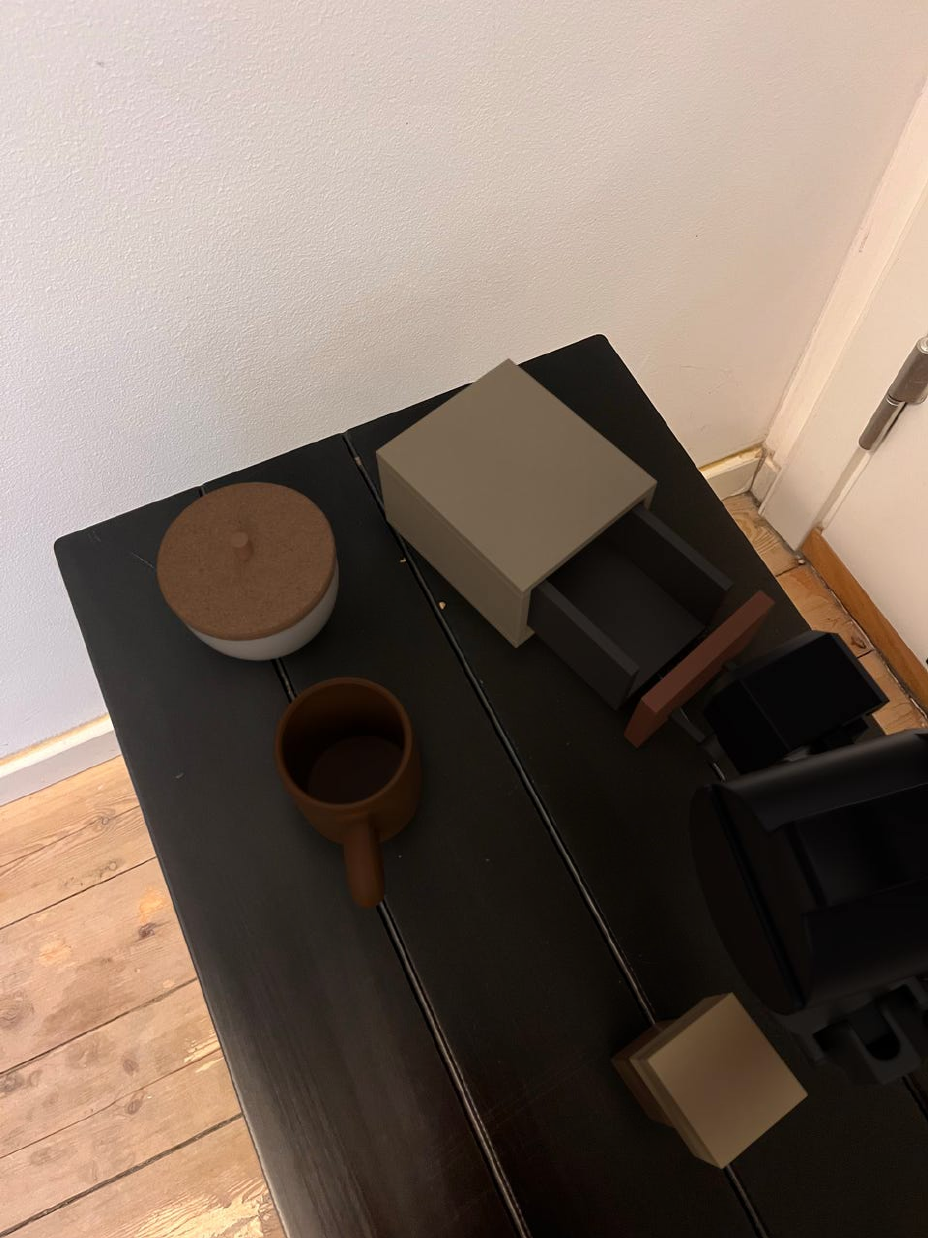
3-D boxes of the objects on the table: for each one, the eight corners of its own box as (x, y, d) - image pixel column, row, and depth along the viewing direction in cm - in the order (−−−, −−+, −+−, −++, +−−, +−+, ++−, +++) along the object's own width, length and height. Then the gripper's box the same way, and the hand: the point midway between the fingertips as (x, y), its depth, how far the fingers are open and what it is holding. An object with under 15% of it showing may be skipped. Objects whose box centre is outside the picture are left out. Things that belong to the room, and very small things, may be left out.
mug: (447, 912, 51) (443, 884, 42) (317, 938, 50) (286, 916, 42) (412, 719, 56) (402, 661, 48) (294, 742, 55) (263, 687, 47)
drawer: (792, 687, 56) (829, 647, 50) (683, 794, 53) (709, 764, 47) (608, 525, 61) (622, 472, 56) (499, 614, 58) (502, 567, 53)
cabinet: (635, 548, 62) (658, 481, 54) (516, 648, 58) (522, 591, 51) (504, 433, 66) (508, 357, 59) (386, 520, 63) (375, 451, 55)
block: (773, 1090, 37) (808, 1095, 33) (694, 1156, 36) (721, 1170, 32) (705, 997, 39) (732, 991, 35) (628, 1058, 38) (646, 1059, 34)
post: (698, 1079, 47) (756, 1086, 37) (649, 1119, 46) (695, 1137, 37) (658, 1021, 48) (704, 1014, 39) (609, 1059, 47) (644, 1062, 38)
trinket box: (182, 565, 61) (136, 487, 53) (332, 528, 62) (310, 447, 54) (205, 703, 57) (159, 642, 48) (366, 660, 58) (348, 594, 49)
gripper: (629, 673, 28) (568, 800, 42) (1050, 1327, 21) (806, 1217, 34) (901, 539, 30) (758, 702, 44) (1365, 1082, 23) (1018, 1072, 37)
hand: (823, 902), depth 40 cm, fingers open, 9 cm apart
